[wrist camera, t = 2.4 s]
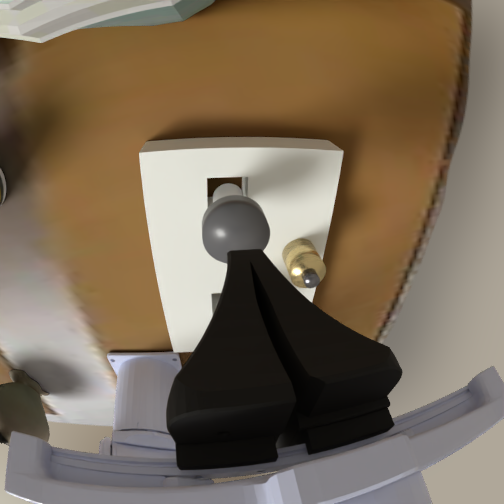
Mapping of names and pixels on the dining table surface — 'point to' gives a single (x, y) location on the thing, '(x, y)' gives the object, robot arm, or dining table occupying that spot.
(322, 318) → the robot arm
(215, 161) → the mount block
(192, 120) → the dining table surface
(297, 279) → the gold domed cylinder
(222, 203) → the knob
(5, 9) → the disposable coffee cup
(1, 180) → the supplement bottle
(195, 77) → the dining table surface
